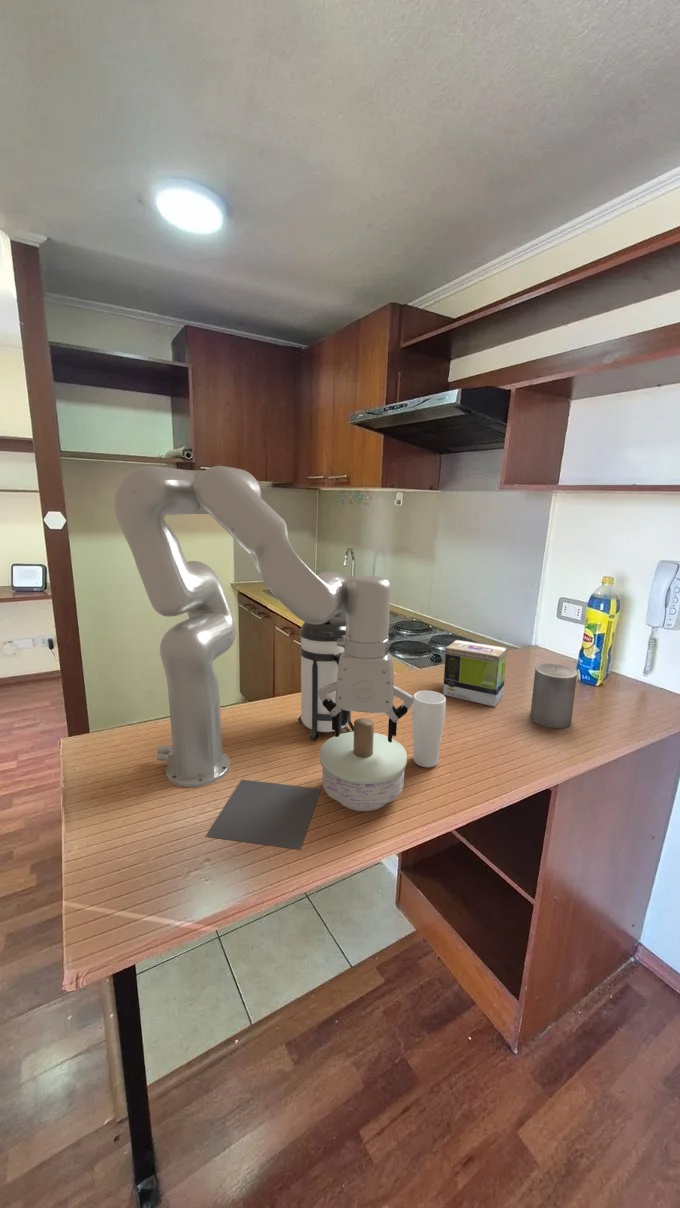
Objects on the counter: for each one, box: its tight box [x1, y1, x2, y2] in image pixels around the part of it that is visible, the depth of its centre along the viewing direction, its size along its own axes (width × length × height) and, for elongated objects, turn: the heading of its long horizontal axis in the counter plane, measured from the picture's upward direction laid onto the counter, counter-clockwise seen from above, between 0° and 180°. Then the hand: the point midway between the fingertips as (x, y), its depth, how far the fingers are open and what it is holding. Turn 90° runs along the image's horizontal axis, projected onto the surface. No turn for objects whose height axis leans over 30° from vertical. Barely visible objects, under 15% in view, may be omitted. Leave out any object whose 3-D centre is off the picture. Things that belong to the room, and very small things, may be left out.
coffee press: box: [297, 616, 354, 742], centre depth 108 cm, size 17×16×30 cm
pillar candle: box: [529, 663, 578, 729], centre depth 117 cm, size 10×10×15 cm
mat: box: [205, 779, 322, 851], centre depth 82 cm, size 16×16×1 cm
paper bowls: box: [321, 767, 405, 812], centre depth 86 cm, size 15×15×8 cm
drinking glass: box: [411, 690, 447, 768], centre depth 97 cm, size 7×7×15 cm
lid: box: [319, 717, 408, 784], centre depth 84 cm, size 16×16×7 cm
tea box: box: [442, 639, 508, 708], centre depth 131 cm, size 15×10×15 cm, turn 58°
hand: (363, 736), depth 84 cm, fingers open, 9 cm apart
